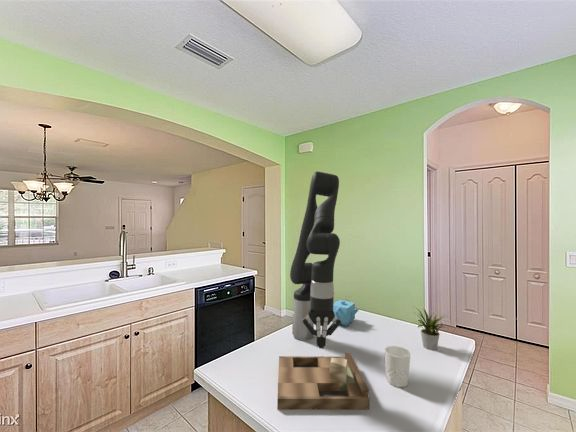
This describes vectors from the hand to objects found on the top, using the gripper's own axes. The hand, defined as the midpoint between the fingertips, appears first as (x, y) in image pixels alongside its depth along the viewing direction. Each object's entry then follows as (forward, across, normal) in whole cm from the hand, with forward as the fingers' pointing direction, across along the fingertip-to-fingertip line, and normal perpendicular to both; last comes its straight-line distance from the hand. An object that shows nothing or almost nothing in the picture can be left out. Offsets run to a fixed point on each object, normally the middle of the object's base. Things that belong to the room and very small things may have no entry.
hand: (320, 347), depth 91 cm
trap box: (+12, +1, 0) cm, 12 cm away
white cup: (+12, -26, -2) cm, 28 cm away
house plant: (+12, -48, -28) cm, 57 cm away
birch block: (+9, -6, +2) cm, 11 cm away
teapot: (+13, -17, -54) cm, 58 cm away
